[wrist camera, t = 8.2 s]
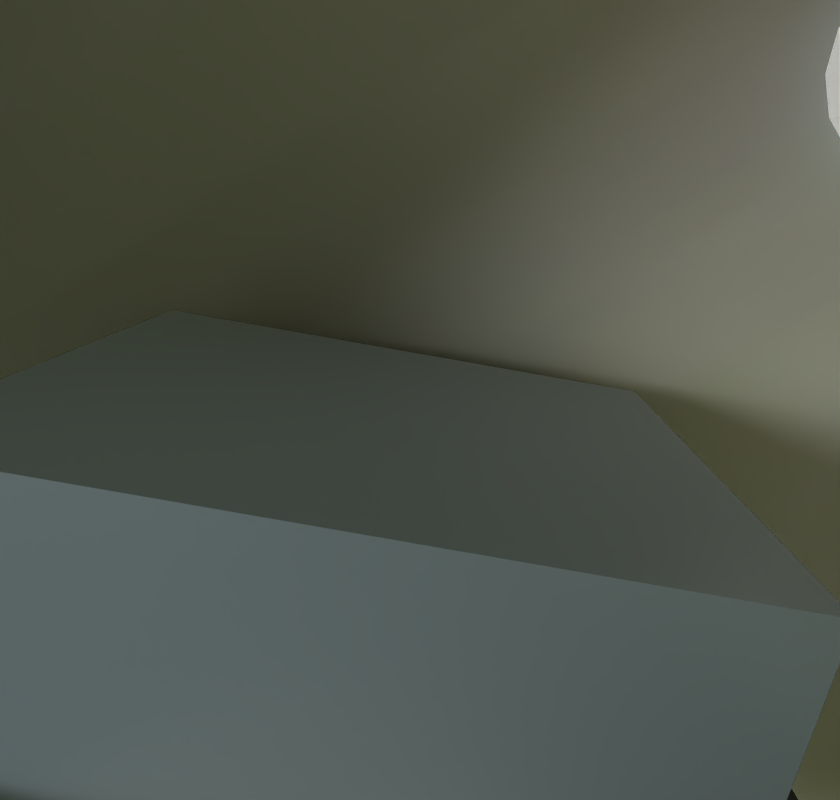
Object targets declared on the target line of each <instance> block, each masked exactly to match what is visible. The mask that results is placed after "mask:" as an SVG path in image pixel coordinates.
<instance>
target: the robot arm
mask: <svg viewBox="0 0 840 800" xmlns="http://www.w3.org/2000/svg"><path fill="white" fill-rule="evenodd" d="M787 800H798V799H797V797H796V796H795V794H794V792H793V790H792V789H791V790H790V793H789V796H788V798H787Z"/></svg>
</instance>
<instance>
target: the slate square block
mask: <svg viewBox="0 0 840 800" xmlns="http://www.w3.org/2000/svg"><path fill="white" fill-rule="evenodd" d="M839 664H840V602H839V601H838V600H837V599H836V598H835V597H834V596H833V595H832V594H831V593H830V592H829V591H828V590H827V589H826V588H825V587H824V586H823V585H822V584H821V583H820V582H819V581H818V580H817V579H816V578H815V577H814V576H813V575H812V574H811V573H810V572H809V570H808V569H807V568H806V567H805V566H804V565H803V564H802V563H801V562H800V561H799V560H798V559H797V558H796V557H795V556H794V555H793V554H792V553H791V552H790V551H789V550H788V549H787V548H786V547H785V546H784V545H783V544H782V543H781V542H780V541H779V540H778V539H777V538H776V537H775V536H774V534H773V533H772V532H771V531H770V530H769V529H768V528H767V527H766V526H765V525H764V524H763V523H762V522H761V521H760V520H759V519H758V518H757V517H756V516H755V515H754V514H753V513H752V512H751V511H750V510H749V509H748V508H747V507H746V506H745V505H744V504H743V503H742V502H741V501H740V500H739V498H738V497H737V496H736V495H735V494H734V493H733V492H732V491H731V490H730V489H729V488H728V487H727V486H726V485H725V484H724V483H723V482H722V481H721V480H720V479H719V478H718V477H717V476H716V475H715V474H714V473H713V472H712V471H711V470H710V469H709V468H708V467H707V466H706V465H705V464H704V462H703V461H702V460H701V459H700V458H699V457H698V456H697V455H696V454H695V453H694V452H693V451H692V450H691V449H690V448H689V447H688V446H687V445H686V444H685V443H684V442H683V441H682V440H681V439H680V438H679V437H678V436H677V435H676V434H675V433H674V432H673V431H672V430H671V429H670V428H669V426H668V425H667V424H666V423H665V422H664V421H663V420H662V419H661V418H660V417H659V416H658V415H657V414H656V413H655V412H654V411H653V410H652V409H651V408H650V407H649V406H648V405H647V404H646V403H645V402H644V401H643V400H642V399H641V398H640V397H639V396H638V395H637V394H636V393H635V392H634V391H629V390H623V389H617V388H612V387H606V386H600V385H595V384H589V383H583V382H578V381H572V380H566V379H560V378H555V377H549V376H543V375H538V374H532V373H526V372H521V371H515V370H509V369H504V368H498V367H492V366H486V365H481V364H475V363H469V362H464V361H458V360H452V359H447V358H441V357H435V356H429V355H424V354H418V353H412V352H407V351H401V350H395V349H390V348H384V347H378V346H373V345H367V344H361V343H355V342H350V341H344V340H338V339H333V338H327V337H321V336H316V335H310V334H304V333H298V332H293V331H287V330H281V329H276V328H270V327H264V326H259V325H253V324H247V323H242V322H236V321H230V320H224V319H219V318H213V317H207V316H202V315H196V314H190V313H185V312H179V311H173V310H171V311H169V312H166V313H164V314H161V315H159V316H156V317H154V318H151V319H149V320H146V321H144V322H141V323H139V324H136V325H134V326H131V327H129V328H126V329H124V330H121V331H119V332H116V333H114V334H111V335H109V336H106V337H104V338H101V339H99V340H96V341H94V342H91V343H89V344H86V345H84V346H81V347H79V348H76V349H74V350H71V351H69V352H66V353H64V354H61V355H59V356H56V357H54V358H51V359H49V360H46V361H44V362H41V363H39V364H36V365H34V366H31V367H29V368H26V369H24V370H21V371H19V372H16V373H14V374H11V375H9V376H6V377H4V378H1V379H0V800H787V798H788V796H789V793H790V790H791V788H792V785H793V783H794V780H795V778H796V775H797V772H798V770H799V767H800V765H801V762H802V760H803V757H804V754H805V752H806V749H807V747H808V744H809V741H810V739H811V736H812V734H813V731H814V729H815V726H816V723H817V721H818V718H819V716H820V713H821V710H822V708H823V705H824V703H825V700H826V698H827V695H828V692H829V690H830V687H831V685H832V682H833V679H834V677H835V674H836V672H837V669H838V667H839Z"/></svg>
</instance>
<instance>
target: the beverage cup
mask: <svg viewBox="0 0 840 800" xmlns="http://www.w3.org/2000/svg"><path fill="white" fill-rule="evenodd" d="M825 76H826V87H827V98H828V110H829V119H830V120H831V122H832V124H833V126H834V128H835V129H836V131H837V133H838V135H839V137H840V26H839V28H838V32H837V35H836V39H835V42H834V46H833V49H832V53H831V56H830V60H829V63H828V67H827V70H826V74H825Z"/></svg>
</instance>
